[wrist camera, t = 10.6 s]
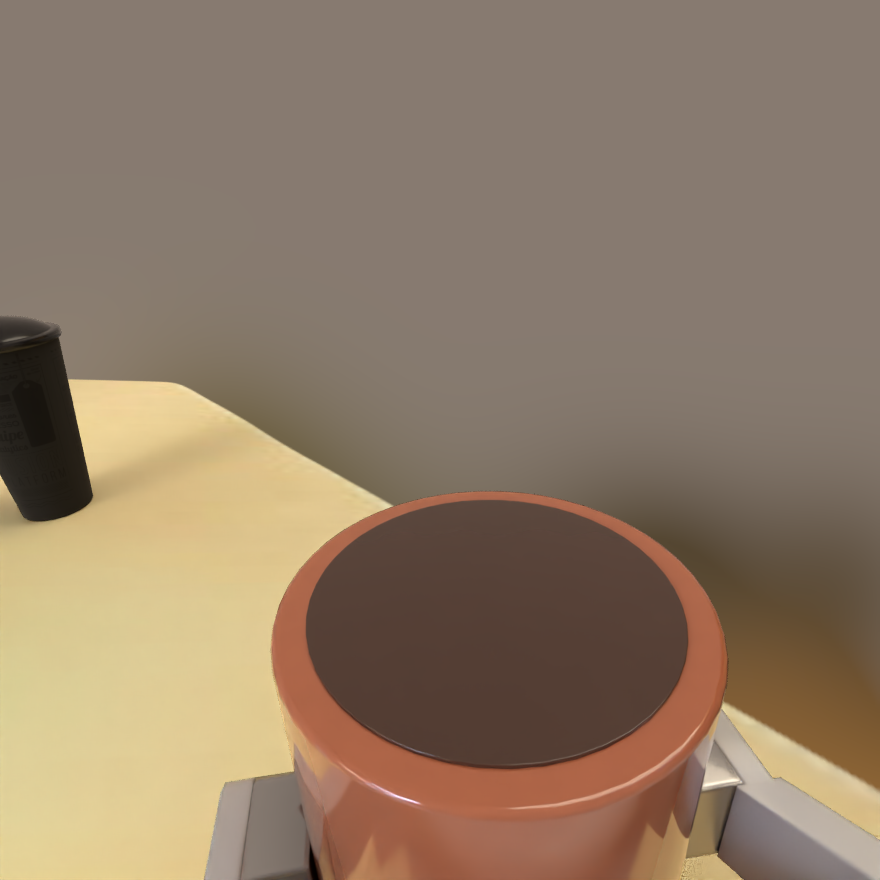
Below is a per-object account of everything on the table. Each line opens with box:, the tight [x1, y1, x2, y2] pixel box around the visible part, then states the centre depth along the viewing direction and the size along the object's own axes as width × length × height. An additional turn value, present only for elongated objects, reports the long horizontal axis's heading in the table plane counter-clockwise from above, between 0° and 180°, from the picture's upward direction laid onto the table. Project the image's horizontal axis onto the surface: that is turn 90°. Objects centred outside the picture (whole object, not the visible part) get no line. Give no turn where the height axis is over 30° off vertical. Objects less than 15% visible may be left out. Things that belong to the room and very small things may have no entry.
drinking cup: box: [0, 316, 93, 521], centre depth 41 cm, size 8×8×20 cm
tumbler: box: [270, 491, 728, 880], centre depth 10 cm, size 6×6×10 cm
